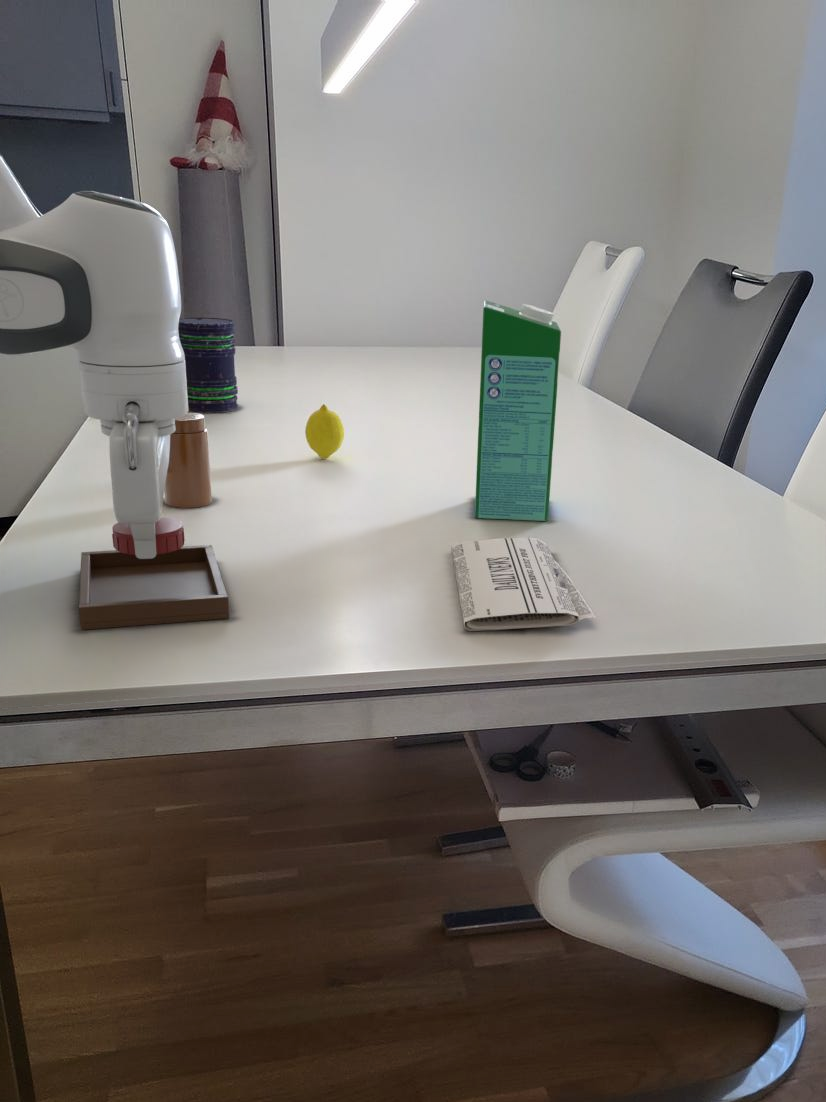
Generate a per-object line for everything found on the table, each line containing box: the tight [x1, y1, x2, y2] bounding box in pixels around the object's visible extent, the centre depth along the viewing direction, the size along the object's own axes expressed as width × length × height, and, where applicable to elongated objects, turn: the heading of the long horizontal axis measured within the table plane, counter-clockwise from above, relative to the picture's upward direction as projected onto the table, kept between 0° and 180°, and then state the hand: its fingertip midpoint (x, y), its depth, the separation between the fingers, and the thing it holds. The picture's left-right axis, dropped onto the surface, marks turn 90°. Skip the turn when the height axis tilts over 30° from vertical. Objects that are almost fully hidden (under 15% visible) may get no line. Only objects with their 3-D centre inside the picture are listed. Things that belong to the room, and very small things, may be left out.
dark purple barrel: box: [178, 317, 239, 414], centre depth 181 cm, size 10×10×15 cm
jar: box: [164, 411, 213, 509], centre depth 126 cm, size 6×6×11 cm
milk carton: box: [474, 299, 562, 522], centre depth 126 cm, size 9×9×25 cm
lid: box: [111, 516, 186, 555], centre depth 96 cm, size 6×6×2 cm
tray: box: [78, 544, 230, 631], centre depth 98 cm, size 16×13×2 cm
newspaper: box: [450, 537, 597, 632], centre depth 104 cm, size 23×12×2 cm, turn 4°
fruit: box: [304, 403, 345, 460], centre depth 151 cm, size 6×6×8 cm
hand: (148, 543), depth 96 cm, fingers closed on lid, 6 cm apart
